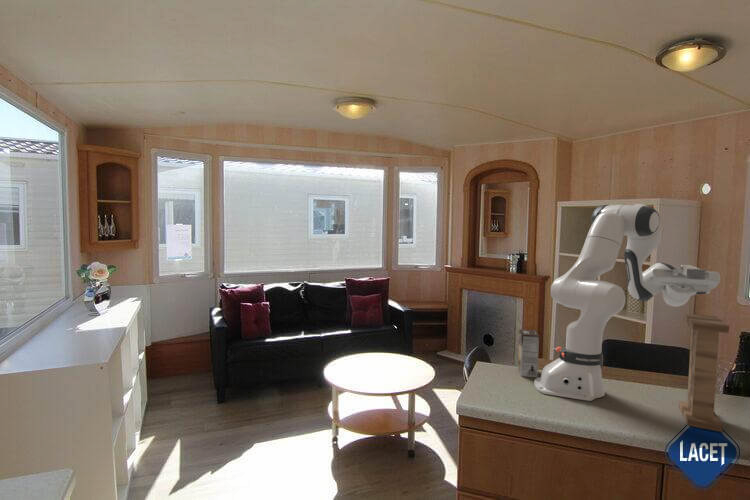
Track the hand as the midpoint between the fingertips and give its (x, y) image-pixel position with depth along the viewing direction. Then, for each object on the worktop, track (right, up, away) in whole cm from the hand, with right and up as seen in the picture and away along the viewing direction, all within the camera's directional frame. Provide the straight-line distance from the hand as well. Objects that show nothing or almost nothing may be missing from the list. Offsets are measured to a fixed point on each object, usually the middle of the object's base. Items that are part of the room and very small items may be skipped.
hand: (688, 268), depth 152 cm
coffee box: (-52, -41, +14) cm, 68 cm away
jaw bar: (-2, -2, -4) cm, 6 cm away
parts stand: (-15, -44, -24) cm, 52 cm away
